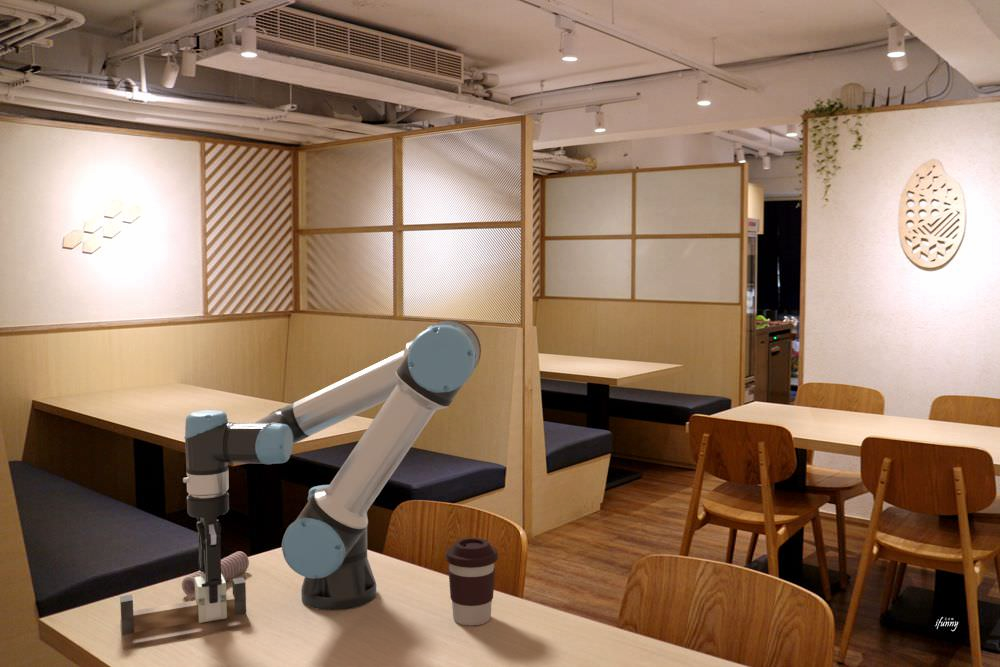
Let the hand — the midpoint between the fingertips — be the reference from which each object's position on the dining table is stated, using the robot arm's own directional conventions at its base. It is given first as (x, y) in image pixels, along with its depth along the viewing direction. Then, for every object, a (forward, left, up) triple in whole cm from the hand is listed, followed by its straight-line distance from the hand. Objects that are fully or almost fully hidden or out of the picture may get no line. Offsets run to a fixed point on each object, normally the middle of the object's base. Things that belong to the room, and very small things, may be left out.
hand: (210, 611), depth 165 cm
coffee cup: (-45, +21, -2) cm, 50 cm away
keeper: (0, 0, -1) cm, 1 cm away
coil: (-4, -19, -2) cm, 20 cm away
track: (+5, 0, -2) cm, 5 cm away
